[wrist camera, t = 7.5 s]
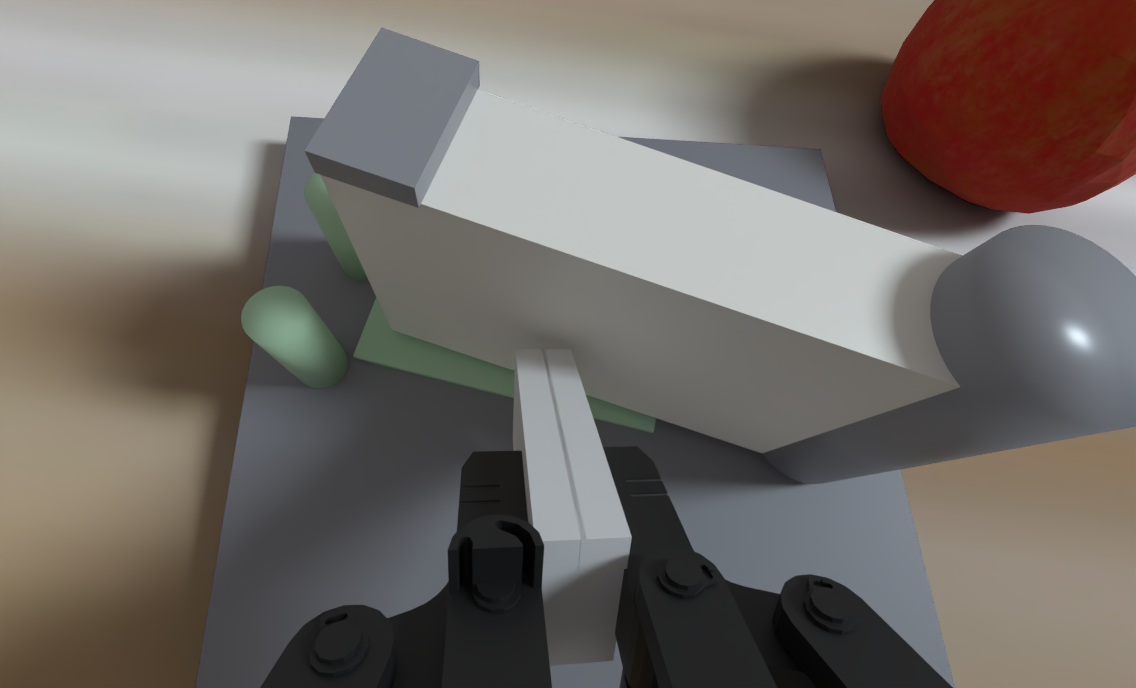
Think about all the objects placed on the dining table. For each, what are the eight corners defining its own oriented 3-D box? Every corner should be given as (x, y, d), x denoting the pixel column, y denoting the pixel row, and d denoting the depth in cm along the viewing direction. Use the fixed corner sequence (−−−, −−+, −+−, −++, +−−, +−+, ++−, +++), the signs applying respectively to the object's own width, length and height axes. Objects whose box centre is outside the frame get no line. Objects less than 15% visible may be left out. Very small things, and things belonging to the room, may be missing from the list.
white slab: (865, 387, 19) (1163, 264, 11) (855, 500, 17) (1191, 459, 9) (432, 241, 19) (386, -5, 10) (384, 343, 17) (285, 152, 9)
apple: (850, 211, 24) (1097, -18, 14) (850, 41, 28) (1044, -229, 18) (1070, 267, 25) (1452, 85, 15) (1040, 94, 29) (1326, -141, 19)
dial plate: (801, 171, 25) (883, 74, 20) (926, 709, 17) (1106, 777, 12) (303, 144, 22) (246, 19, 16) (205, 781, 14) (49, 911, 9)
